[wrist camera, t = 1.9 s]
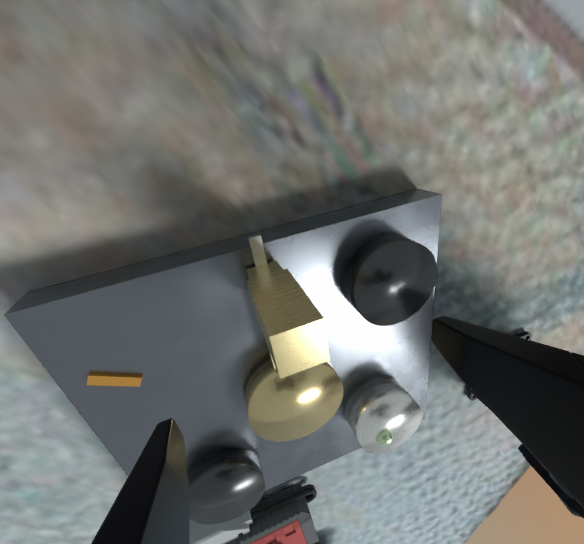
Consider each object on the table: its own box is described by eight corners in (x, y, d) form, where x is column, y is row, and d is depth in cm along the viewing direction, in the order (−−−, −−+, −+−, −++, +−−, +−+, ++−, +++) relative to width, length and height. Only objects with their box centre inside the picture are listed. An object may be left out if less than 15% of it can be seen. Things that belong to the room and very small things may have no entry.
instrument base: (418, 180, 18) (489, 194, 14) (410, 400, 28) (451, 449, 23) (20, 283, 14) (-55, 351, 10) (173, 503, 23) (170, 587, 19)
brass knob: (337, 400, 21) (381, 480, 16) (256, 434, 20) (278, 530, 15) (316, 248, 15) (375, 300, 11) (202, 282, 14) (209, 357, 9)
